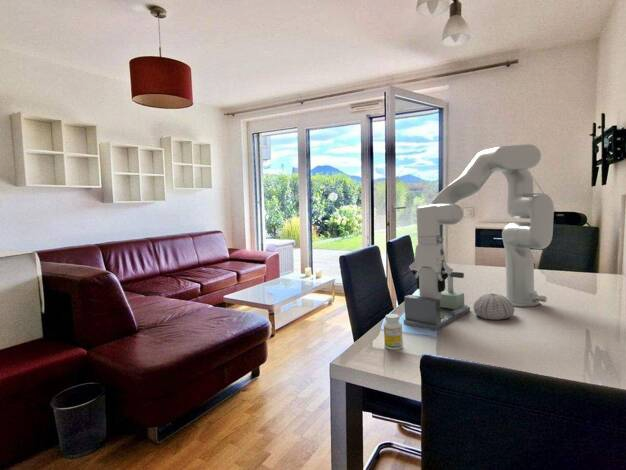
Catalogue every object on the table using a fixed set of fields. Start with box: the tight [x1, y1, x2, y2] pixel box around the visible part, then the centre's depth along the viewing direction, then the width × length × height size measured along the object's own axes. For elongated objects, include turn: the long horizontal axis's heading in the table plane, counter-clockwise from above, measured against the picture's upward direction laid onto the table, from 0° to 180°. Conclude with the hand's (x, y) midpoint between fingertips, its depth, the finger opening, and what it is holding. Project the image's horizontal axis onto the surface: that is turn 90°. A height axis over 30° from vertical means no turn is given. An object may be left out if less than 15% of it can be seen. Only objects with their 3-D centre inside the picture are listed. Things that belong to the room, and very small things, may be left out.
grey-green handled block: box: [439, 271, 465, 309], centre depth 140 cm, size 10×6×13 cm, turn 43°
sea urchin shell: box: [472, 293, 516, 321], centre depth 131 cm, size 13×14×8 cm
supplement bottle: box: [383, 313, 404, 351], centre depth 110 cm, size 5×5×10 cm
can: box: [418, 267, 442, 299], centre depth 130 cm, size 8×8×12 cm
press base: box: [403, 294, 471, 331], centre depth 134 cm, size 12×26×10 cm, turn 133°
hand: (430, 289), depth 131 cm, fingers closed on can, 7 cm apart
